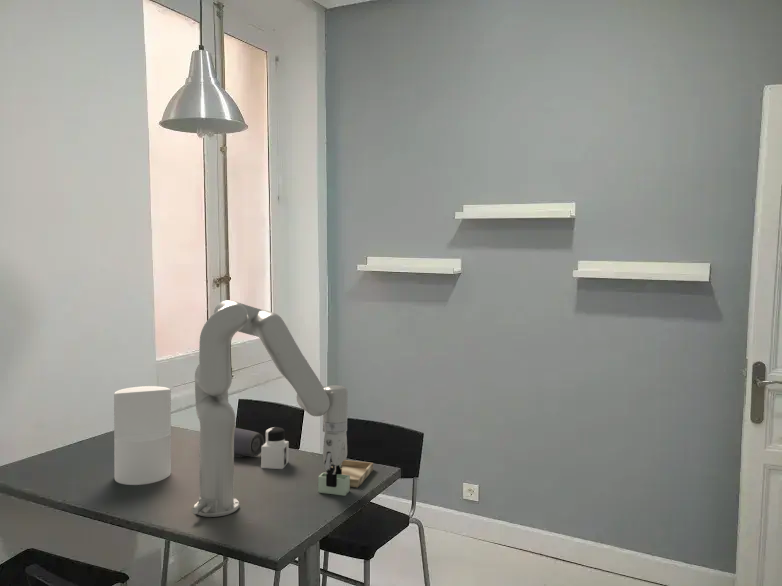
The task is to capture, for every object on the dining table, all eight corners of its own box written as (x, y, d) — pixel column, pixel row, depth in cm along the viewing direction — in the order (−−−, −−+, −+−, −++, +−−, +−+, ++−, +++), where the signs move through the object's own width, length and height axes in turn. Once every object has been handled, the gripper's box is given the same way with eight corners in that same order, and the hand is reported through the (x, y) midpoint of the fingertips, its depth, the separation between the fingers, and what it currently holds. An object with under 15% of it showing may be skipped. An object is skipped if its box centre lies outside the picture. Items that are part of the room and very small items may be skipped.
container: (288, 462, 216) (289, 426, 216) (282, 469, 209) (283, 432, 208) (267, 461, 217) (267, 425, 217) (260, 468, 210) (261, 431, 209)
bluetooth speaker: (199, 453, 224) (199, 426, 224) (216, 446, 233) (216, 421, 232) (248, 463, 215) (249, 435, 214) (264, 455, 223) (265, 428, 223)
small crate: (345, 495, 187) (345, 479, 186) (317, 492, 189) (318, 476, 189) (349, 491, 190) (349, 475, 190) (322, 487, 193) (322, 472, 192)
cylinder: (113, 470, 204) (112, 388, 203) (167, 463, 212) (167, 384, 211) (116, 488, 189) (115, 399, 188) (174, 480, 197) (174, 394, 196)
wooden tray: (358, 487, 193) (358, 480, 193) (321, 483, 196) (321, 476, 196) (373, 469, 210) (373, 462, 210) (339, 466, 213) (339, 459, 213)
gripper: (337, 434, 180) (336, 495, 180) (354, 420, 196) (353, 476, 197) (313, 431, 181) (312, 492, 182) (332, 418, 198) (331, 473, 198)
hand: (333, 483), depth 189 cm, fingers closed on small crate, 4 cm apart
